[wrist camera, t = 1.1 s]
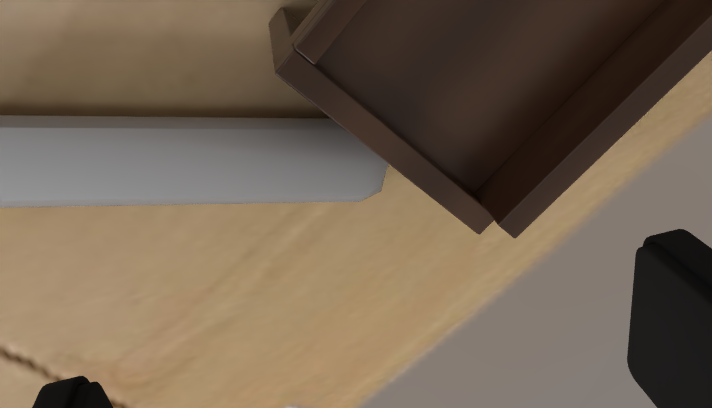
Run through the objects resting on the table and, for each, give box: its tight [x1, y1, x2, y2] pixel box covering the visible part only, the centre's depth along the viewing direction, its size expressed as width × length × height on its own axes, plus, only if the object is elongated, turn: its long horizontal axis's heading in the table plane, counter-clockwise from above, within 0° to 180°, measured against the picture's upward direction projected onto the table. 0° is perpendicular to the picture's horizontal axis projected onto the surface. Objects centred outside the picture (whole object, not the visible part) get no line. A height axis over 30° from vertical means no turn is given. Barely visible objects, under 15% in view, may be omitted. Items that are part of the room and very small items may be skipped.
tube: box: [0, 115, 388, 207], centre depth 31 cm, size 5×5×25 cm
